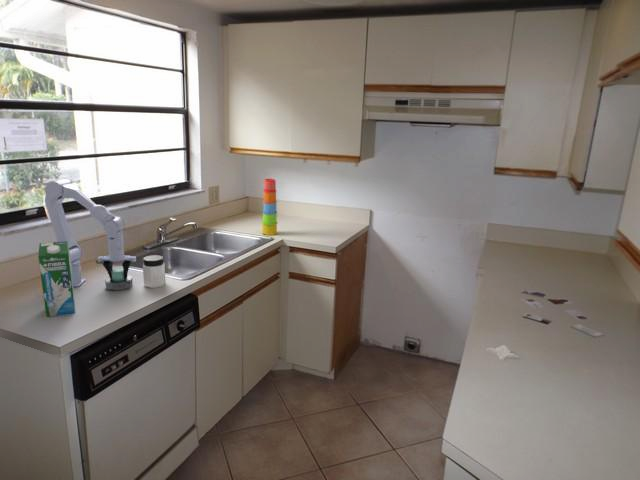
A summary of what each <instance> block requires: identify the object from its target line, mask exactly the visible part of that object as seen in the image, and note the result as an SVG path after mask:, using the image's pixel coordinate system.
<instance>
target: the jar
mask: <svg viewBox="0 0 640 480" xmlns="http://www.w3.org/2000/svg"><path fill="white" fill-rule="evenodd" d="M142 259H143V260H142V262H143V264H142V276H143V286H144V287H147V288H150V289H153V288H154V289H155V288H160V287H164V285H165V284H166V282H167V281H166V267H165V265H166V263H165V261H164V256H163V255H157V254H154V255H153V254H152V255H147V256H145V257H143V258H142Z"/></svg>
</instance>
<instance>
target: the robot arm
mask: <svg viewBox="0 0 640 480" xmlns="http://www.w3.org/2000/svg"><path fill="white" fill-rule="evenodd" d="M43 189H44V192H45V194H44V195H45V196H44V203H45V207H46V210H47V213H48V215H49V219H50V222H51V225H52V229H53V232H54V234H55V238H56V242H63V241H68V243H69V252H70V261H71V270H72V278H73V287H75V288H76V287H80V286H82V284H83V283H84V282H85V281H86V278H83V277H82V267H81V259H82V257H83V253H84V252H83V250H82V249H81V247H80V246H79V243H78V242H77V241H76V240H74V239H73V237H72V233H71V231H70V226H69V224H68V220H67V217H66V214H65V210H64V207H63V205H62V204H63V201H65V199H73V200H75V202H77V203H79V204H80V205H81V206H82V207H84V208H85V209H87V210H88V211H89V214H90V216H91V217H92V218H93V219H94V220H96V221H97V222H98V223H99V224H100V225H102V226H103V230H104V232H105V233H106V237H107V245H108V247H107V248H108V255H103V256H102V255H101V256H100V255H99V256H98V257H97V262H98V263H102V266H103V267H104V269H105V271H106V272H107V274H108V276H109V277H110V279H112V273H111V272H112V271H113V270H114V269H113V263H114V262H118V263H119V262H122V265H121V266H122V270H124V279H126V278H127V275H128V273H129V269H130V266H131V264H132V263H135V262H136V261H137V256H135V255H134V256H133V255H127V254H126V255H125V246H124V245H125V244H124V235H123V233H124V232H123V229H124V227H125V225H126V224H125V220H124V219H122V217H120V216H116V215H115V214H112V213H111V211H109V210H108V209H107V208H106V206H105V205H102V204H96V203H95V202H94V201H93V200H92V199H91V198H90V197H89V196H88V195H86V193H84V192H83V191H82V190H81V189H80V188H79V186H78V184H77V183H75V182H74V181H73V180H72V179H70V178H68V177H67V178H62V179H59V180H53V181H50V182H48V183H47V184H46V185H45V187H44V188H43Z"/></svg>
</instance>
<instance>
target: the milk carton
mask: <svg viewBox="0 0 640 480" xmlns="http://www.w3.org/2000/svg"><path fill="white" fill-rule="evenodd" d="M38 263H39V271H40V278H41V286H42V295H43V301H44V310H45V317H46V318H47V317H55V316H62V315H67V314H69V315H70V314H75V313H76V298H75V297H76V296H75V289H74V287H73V278H72V270H71V261H70V252H69V243H68V241H63V242H57V241H53V242H52V241H51V242H39V245H38Z"/></svg>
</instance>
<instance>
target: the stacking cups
mask: <svg viewBox="0 0 640 480" xmlns="http://www.w3.org/2000/svg"><path fill="white" fill-rule="evenodd" d="M276 183H277V182H276V179H274V178H265V179H264V181H263V200H262V202H263V210H262V215H263V216H262V221H261V224H262V231H261V234H262V232H263V233H264V234H266V235H265V236H276V235H278V234H279V233H278V231H277V230H278V229H277V227H278V225H277V224H278V223H279V222H278V221H277V220H278V219H277V217H278V216H277V215H278V211H277V202H278V201H277V187H276ZM275 234H276V235H275Z"/></svg>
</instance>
